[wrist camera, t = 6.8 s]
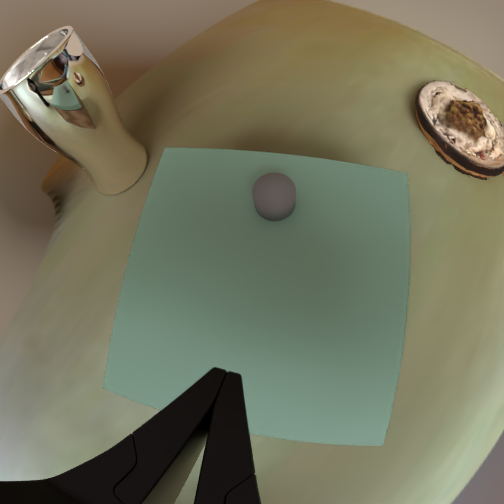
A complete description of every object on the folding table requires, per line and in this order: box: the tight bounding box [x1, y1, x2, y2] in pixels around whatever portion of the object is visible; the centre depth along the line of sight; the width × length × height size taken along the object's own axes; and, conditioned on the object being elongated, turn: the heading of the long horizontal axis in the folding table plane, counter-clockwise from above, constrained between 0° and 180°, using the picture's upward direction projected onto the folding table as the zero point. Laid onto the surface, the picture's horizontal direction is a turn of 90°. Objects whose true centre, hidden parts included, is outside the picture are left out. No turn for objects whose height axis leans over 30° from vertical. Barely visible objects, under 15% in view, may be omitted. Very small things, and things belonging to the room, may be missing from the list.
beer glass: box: [0, 26, 147, 195], centre depth 18 cm, size 7×7×15 cm
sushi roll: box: [415, 81, 504, 180], centre depth 22 cm, size 15×15×4 cm
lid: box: [103, 148, 410, 446], centre depth 13 cm, size 14×14×2 cm
